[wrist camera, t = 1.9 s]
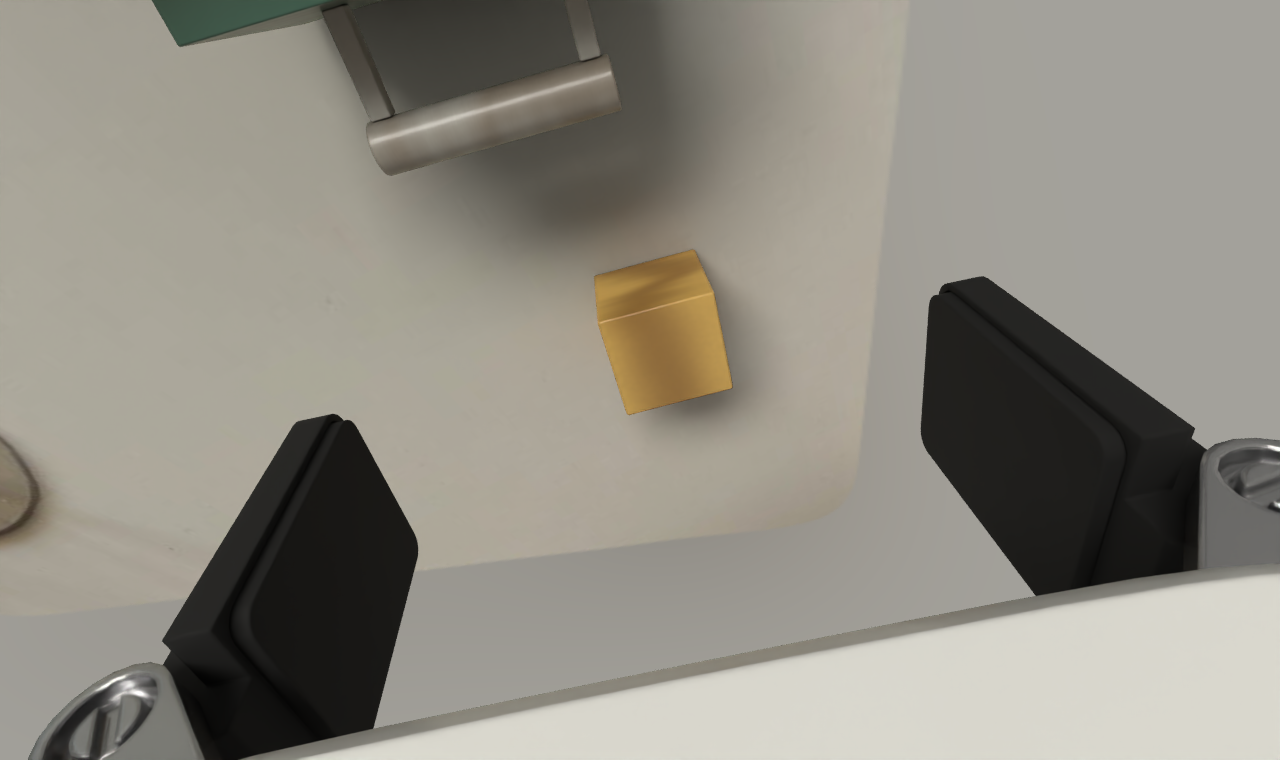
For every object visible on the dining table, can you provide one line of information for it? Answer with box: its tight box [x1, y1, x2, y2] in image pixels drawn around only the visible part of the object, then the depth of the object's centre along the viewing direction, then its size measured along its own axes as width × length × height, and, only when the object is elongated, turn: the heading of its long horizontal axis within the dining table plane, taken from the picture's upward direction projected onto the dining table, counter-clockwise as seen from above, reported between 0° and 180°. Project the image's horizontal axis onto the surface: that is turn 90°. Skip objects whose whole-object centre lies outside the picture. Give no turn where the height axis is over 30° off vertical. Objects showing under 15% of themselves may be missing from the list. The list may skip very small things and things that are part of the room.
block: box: [594, 250, 733, 415], centre depth 26 cm, size 4×4×4 cm
